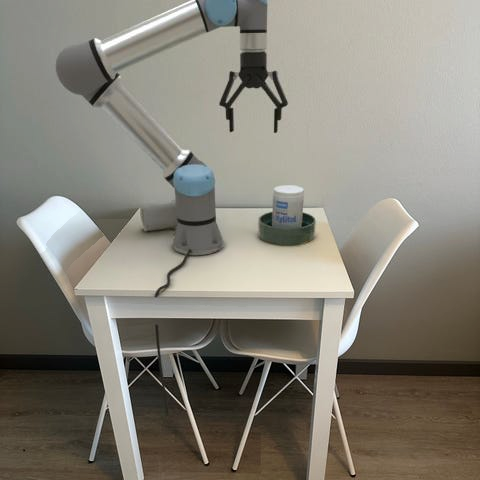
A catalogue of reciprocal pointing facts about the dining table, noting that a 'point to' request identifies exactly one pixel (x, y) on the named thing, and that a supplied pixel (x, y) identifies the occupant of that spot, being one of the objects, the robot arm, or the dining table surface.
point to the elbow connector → (159, 216)
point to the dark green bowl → (286, 230)
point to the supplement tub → (287, 207)
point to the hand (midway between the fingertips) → (253, 131)
